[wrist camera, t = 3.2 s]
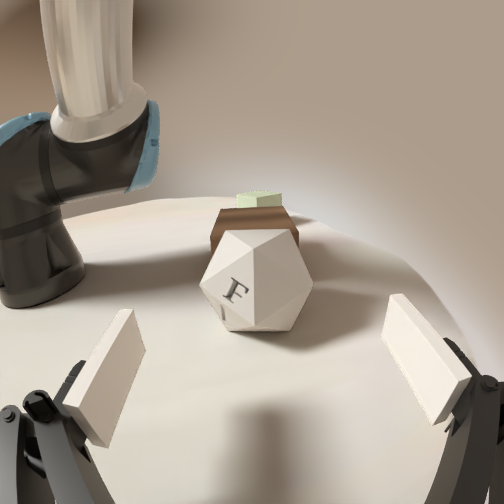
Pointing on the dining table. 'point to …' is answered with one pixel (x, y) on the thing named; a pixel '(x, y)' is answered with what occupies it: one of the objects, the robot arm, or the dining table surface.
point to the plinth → (251, 222)
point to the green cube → (259, 199)
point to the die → (257, 280)
